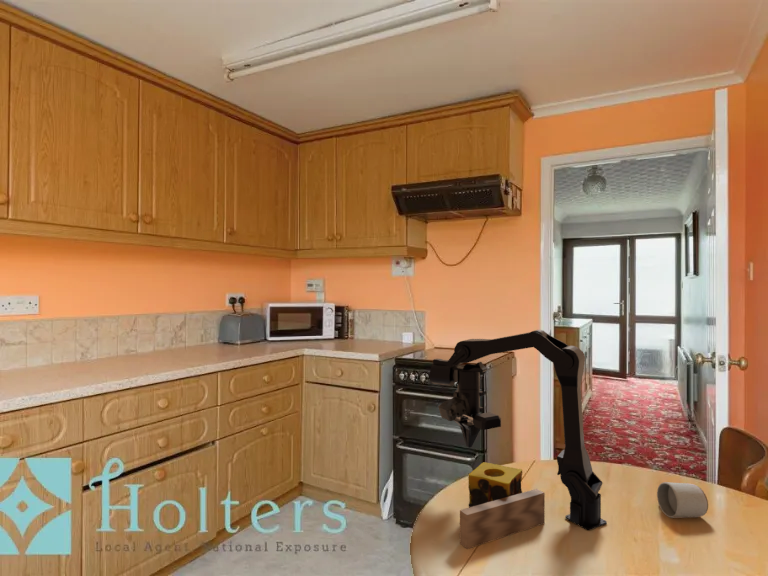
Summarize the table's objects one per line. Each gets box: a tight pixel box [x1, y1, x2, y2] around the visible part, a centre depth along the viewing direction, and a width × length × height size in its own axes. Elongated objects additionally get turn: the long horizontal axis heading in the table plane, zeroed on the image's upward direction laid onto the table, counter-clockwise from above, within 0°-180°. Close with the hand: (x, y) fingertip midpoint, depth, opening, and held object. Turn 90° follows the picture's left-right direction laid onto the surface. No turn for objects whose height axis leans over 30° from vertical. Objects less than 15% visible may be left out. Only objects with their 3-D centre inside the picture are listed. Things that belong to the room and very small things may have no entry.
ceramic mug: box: [656, 481, 709, 519], centre depth 113 cm, size 11×8×8 cm
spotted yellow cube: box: [467, 461, 523, 508], centre depth 113 cm, size 10×10×10 cm
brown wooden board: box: [459, 488, 546, 550], centre depth 104 cm, size 22×2×7 cm, turn 118°
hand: (469, 447), depth 125 cm, fingers closed
